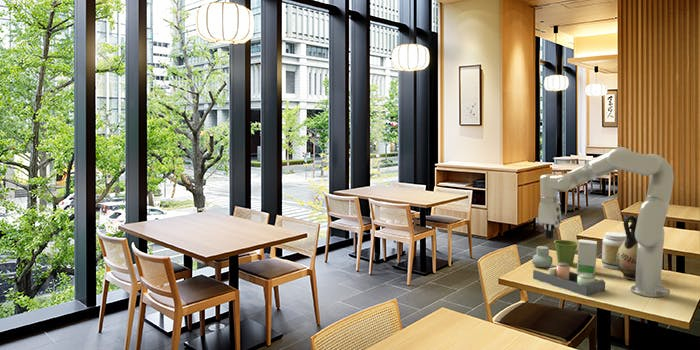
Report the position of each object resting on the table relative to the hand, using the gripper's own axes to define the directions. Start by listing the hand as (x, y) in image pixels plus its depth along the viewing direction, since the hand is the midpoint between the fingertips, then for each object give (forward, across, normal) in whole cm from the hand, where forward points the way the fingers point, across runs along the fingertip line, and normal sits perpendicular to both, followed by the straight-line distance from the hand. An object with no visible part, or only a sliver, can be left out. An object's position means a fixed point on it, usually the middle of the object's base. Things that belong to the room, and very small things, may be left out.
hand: (549, 238), depth 239 cm
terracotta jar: (+19, -10, +4) cm, 22 cm away
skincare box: (+19, -6, -20) cm, 28 cm away
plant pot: (+19, +9, -24) cm, 32 cm away
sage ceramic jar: (+19, -22, +4) cm, 29 cm away
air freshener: (+18, +12, -10) cm, 24 cm away
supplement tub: (+20, -8, -40) cm, 45 cm away
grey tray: (+19, -13, +4) cm, 23 cm away
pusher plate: (+18, -5, +4) cm, 19 cm away
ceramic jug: (+20, -23, -29) cm, 42 cm away
